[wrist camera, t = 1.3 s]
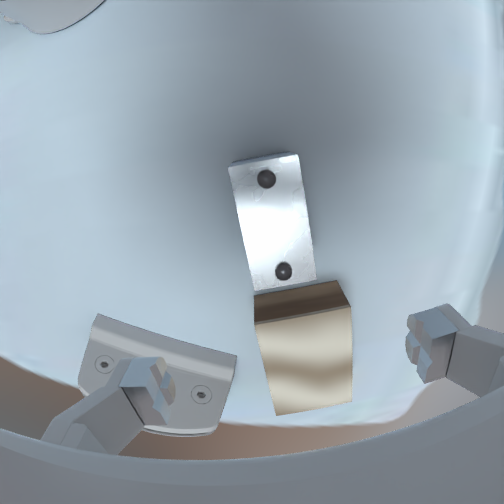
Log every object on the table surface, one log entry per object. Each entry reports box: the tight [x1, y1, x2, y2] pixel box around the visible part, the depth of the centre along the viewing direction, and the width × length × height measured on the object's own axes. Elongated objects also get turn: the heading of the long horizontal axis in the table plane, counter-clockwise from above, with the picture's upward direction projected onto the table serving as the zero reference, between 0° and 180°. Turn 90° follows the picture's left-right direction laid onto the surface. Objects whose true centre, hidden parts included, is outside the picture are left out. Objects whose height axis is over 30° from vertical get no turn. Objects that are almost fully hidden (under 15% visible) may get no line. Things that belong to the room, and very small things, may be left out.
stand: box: [254, 281, 352, 416], centre depth 29 cm, size 12×8×5 cm, turn 11°
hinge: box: [78, 314, 236, 437], centre depth 29 cm, size 17×5×10 cm, turn 73°
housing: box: [228, 152, 317, 291], centre depth 23 cm, size 9×5×6 cm, turn 11°
